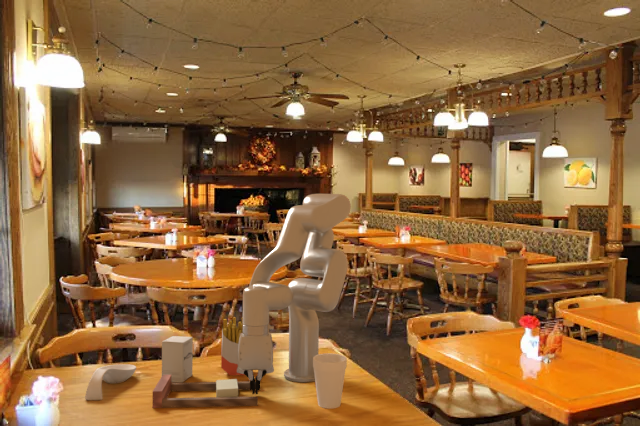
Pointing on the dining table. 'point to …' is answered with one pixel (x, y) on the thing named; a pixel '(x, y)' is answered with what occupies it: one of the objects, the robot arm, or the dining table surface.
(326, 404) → the foam cup
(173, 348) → the supplement box
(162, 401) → the guide track
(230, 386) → the block
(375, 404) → the dining table surface
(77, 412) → the dining table surface
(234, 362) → the french fries container
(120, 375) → the spoon rest
